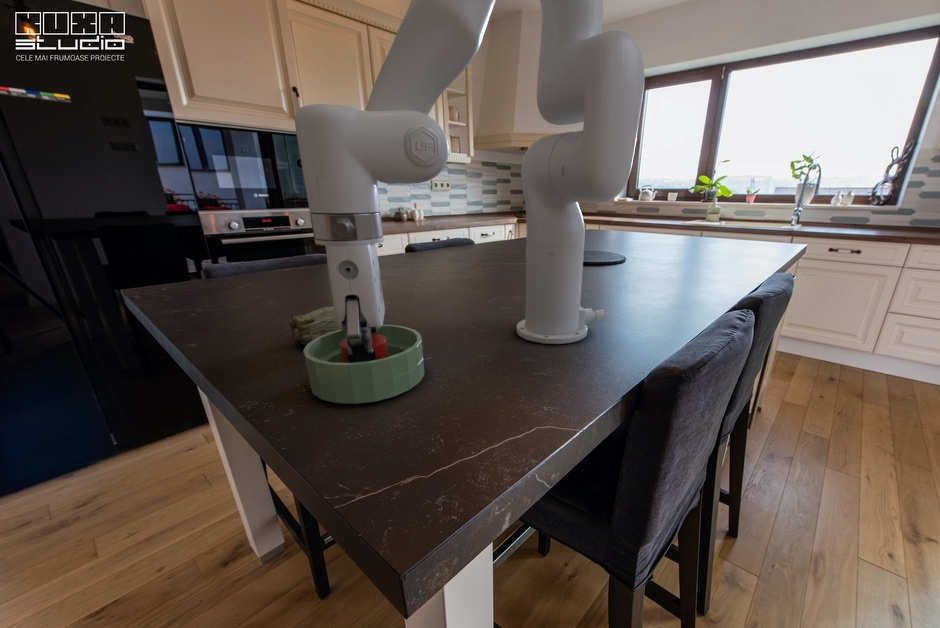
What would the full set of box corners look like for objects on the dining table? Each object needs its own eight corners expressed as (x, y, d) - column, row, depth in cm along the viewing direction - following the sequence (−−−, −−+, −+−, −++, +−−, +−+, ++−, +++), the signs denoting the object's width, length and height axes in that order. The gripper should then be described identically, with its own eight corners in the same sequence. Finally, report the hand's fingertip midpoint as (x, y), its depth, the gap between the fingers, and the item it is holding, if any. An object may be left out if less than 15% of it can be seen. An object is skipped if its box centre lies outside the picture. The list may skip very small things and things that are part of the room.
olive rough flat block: (300, 355, 61) (293, 322, 59) (287, 338, 68) (280, 308, 66) (390, 335, 69) (387, 305, 67) (370, 322, 76) (366, 295, 74)
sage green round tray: (422, 355, 61) (419, 321, 59) (427, 399, 48) (423, 357, 46) (322, 364, 57) (316, 329, 56) (299, 414, 45) (290, 370, 43)
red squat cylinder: (391, 366, 56) (386, 324, 53) (390, 384, 51) (384, 338, 48) (348, 370, 54) (341, 328, 52) (343, 389, 49) (335, 343, 47)
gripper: (378, 236, 39) (396, 398, 45) (385, 223, 54) (398, 345, 61) (294, 238, 37) (325, 406, 43) (326, 224, 53) (346, 350, 59)
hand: (367, 369), depth 52 cm, fingers closed on red squat cylinder, 5 cm apart
